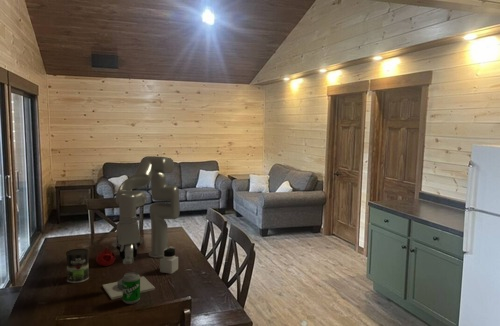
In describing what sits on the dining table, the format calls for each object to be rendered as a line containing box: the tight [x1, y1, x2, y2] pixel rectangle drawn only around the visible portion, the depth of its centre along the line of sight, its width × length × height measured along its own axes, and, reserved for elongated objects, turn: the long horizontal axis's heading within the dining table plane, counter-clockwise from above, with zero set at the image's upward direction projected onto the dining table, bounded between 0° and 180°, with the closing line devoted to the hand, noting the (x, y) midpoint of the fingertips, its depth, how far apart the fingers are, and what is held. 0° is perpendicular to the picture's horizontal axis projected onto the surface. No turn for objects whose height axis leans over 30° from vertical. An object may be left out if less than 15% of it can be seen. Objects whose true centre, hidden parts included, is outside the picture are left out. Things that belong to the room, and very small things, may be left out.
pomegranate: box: [95, 247, 116, 267], centre depth 216 cm, size 10×10×9 cm
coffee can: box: [65, 248, 90, 284], centre depth 195 cm, size 10×10×14 cm
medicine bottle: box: [159, 248, 179, 275], centre depth 209 cm, size 7×7×12 cm
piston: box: [122, 244, 135, 265], centre depth 184 cm, size 5×5×9 cm
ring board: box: [102, 275, 156, 300], centre depth 186 cm, size 20×16×4 cm
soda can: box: [121, 271, 141, 305], centre depth 172 cm, size 8×8×12 cm
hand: (128, 257), depth 185 cm, fingers closed on piston, 5 cm apart
